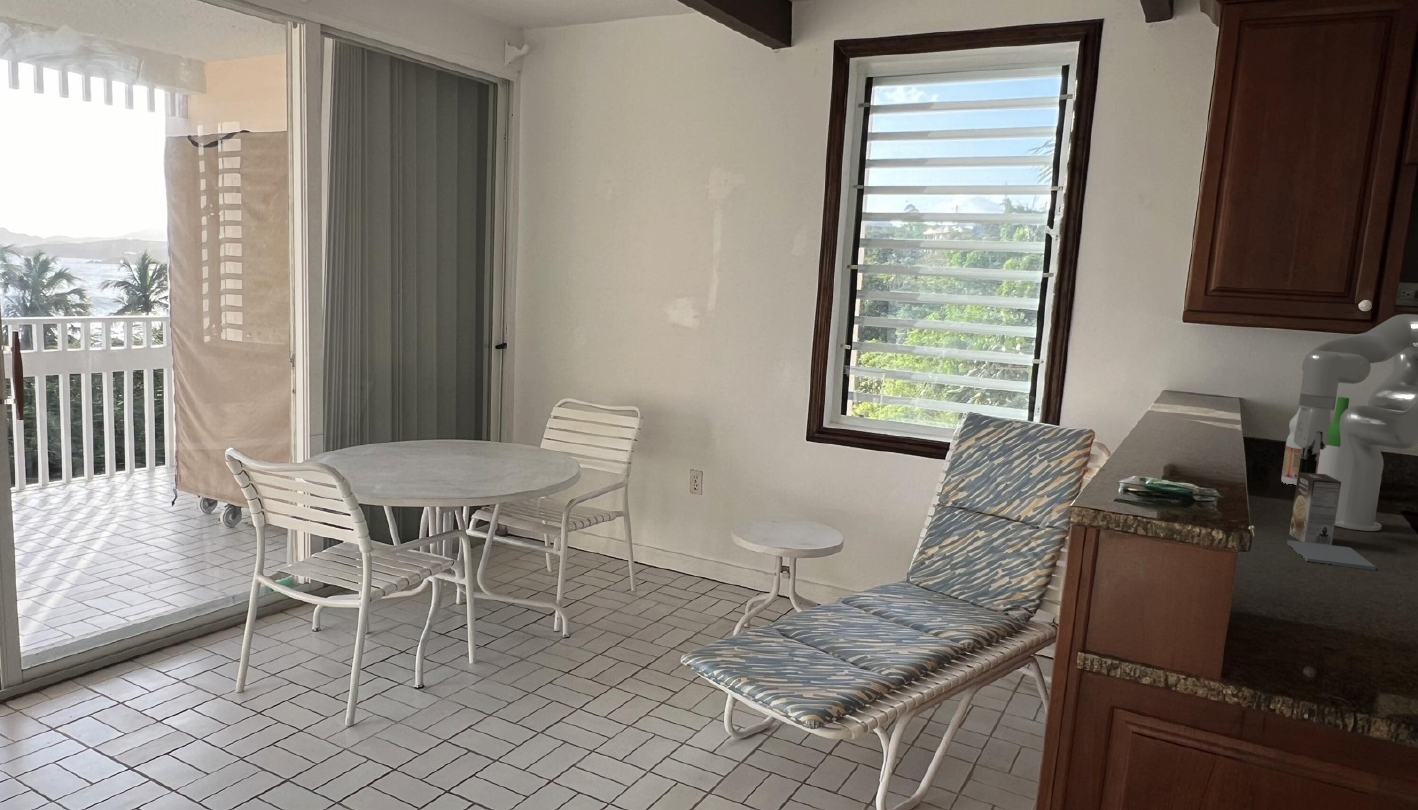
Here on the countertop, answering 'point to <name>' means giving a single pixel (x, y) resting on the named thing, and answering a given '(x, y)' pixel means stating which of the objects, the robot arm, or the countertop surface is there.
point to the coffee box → (1315, 508)
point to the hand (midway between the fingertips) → (1306, 474)
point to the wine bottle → (1333, 443)
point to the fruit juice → (1292, 455)
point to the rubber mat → (1331, 555)
